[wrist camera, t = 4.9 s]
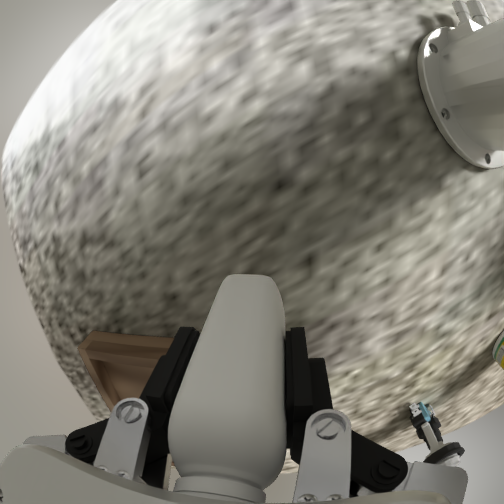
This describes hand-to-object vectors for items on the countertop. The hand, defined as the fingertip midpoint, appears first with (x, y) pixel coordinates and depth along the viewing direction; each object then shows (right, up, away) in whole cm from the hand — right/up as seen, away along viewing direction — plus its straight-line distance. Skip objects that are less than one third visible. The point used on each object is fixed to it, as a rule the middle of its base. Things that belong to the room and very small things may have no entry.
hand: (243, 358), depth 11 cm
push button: (+21, -15, +14) cm, 29 cm away
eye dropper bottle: (0, +1, +3) cm, 3 cm away
